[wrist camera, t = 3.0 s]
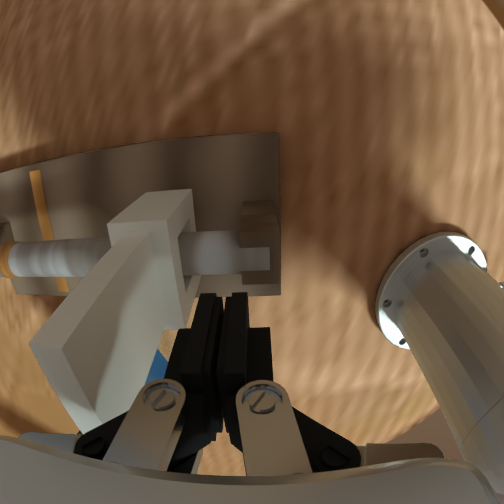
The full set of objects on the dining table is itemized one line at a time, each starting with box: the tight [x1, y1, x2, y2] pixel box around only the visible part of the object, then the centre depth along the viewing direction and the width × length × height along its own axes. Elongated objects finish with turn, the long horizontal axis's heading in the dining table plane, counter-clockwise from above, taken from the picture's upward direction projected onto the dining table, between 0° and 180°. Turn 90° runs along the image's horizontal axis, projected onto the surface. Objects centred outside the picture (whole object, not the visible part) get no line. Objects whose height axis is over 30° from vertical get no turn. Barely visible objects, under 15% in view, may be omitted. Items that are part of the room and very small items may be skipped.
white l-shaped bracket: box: [29, 189, 201, 434], centre depth 14 cm, size 3×6×14 cm, turn 3°
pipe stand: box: [0, 132, 281, 297], centre depth 20 cm, size 26×12×8 cm, turn 92°
